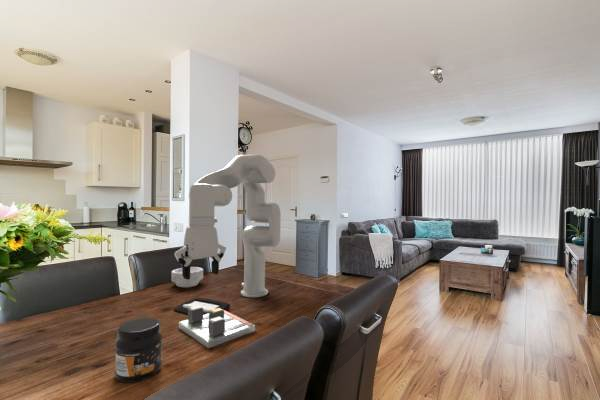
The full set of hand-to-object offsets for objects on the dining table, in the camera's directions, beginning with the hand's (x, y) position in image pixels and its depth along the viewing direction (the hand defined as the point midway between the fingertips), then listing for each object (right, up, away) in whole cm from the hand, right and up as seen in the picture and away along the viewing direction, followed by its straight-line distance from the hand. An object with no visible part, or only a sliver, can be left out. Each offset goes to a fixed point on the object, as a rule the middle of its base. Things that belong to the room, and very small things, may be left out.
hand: (201, 276), depth 97 cm
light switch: (-7, -20, +24) cm, 32 cm away
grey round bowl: (-26, -19, +58) cm, 67 cm away
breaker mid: (+3, -17, +5) cm, 18 cm away
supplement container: (-9, -19, -20) cm, 30 cm away
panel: (+3, -19, +5) cm, 20 cm away
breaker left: (-4, -17, +7) cm, 19 cm away
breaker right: (+6, -17, -2) cm, 18 cm away
